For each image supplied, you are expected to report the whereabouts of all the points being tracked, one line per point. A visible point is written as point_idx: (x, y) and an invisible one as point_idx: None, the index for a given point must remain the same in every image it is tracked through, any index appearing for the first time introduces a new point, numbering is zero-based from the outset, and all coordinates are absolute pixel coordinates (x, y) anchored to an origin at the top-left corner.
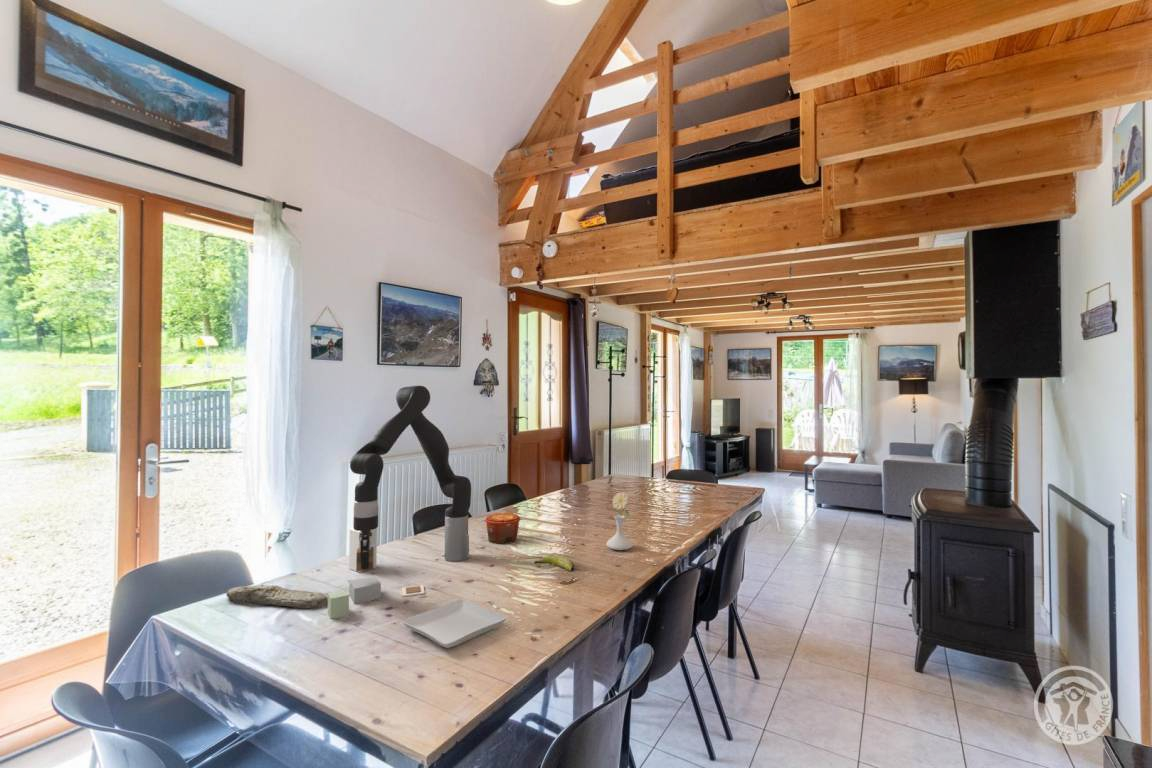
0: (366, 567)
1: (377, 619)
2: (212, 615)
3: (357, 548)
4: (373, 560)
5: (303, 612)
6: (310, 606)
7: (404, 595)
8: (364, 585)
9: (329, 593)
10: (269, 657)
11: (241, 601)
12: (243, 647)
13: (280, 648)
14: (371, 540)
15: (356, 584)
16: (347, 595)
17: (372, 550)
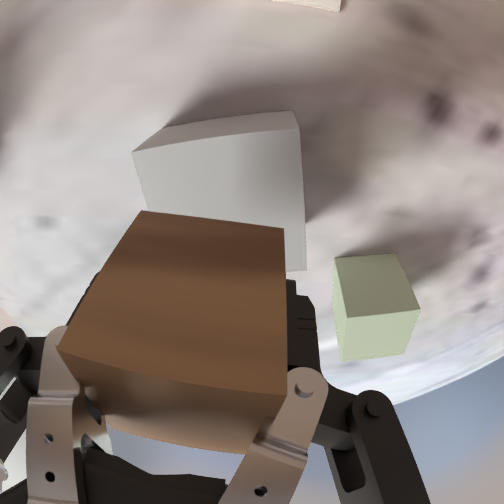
0: (306, 300)
1: (493, 178)
2: None
3: (114, 428)
4: (128, 233)
5: None
6: None
7: (340, 1)
8: (286, 223)
9: (348, 358)
10: (459, 368)
11: None
12: (389, 398)
13: (444, 362)
14: (35, 443)
15: None
16: (419, 312)
17: (239, 396)
